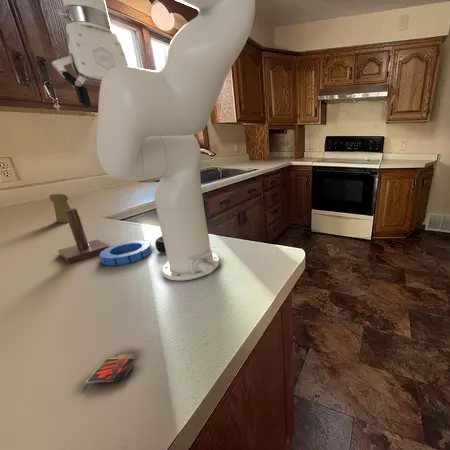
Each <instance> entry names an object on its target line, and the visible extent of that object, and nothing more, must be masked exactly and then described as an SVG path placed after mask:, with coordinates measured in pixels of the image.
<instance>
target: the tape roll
mask: <svg viewBox="0 0 450 450" xmlns="http://www.w3.org/2000/svg"><path fill="white" fill-rule="evenodd" d="M152 250H153V248H152V244H151V242H150V241H147V240H142V239H141V240H140V239H139V240H137V239H136V240H129V241H124V242H119V243H116V244H113V245H111V246H109V247H108V248H106V249H104V250H103V251H101V253H100V254H98V256H99V259H100V262H101V263H102V264H103V265H104V266H122V265H127V264H130V263H134V262H137V261H140V260H143V259H144V258H146V257H147V256H149V255H151V253H152ZM127 251H131V252H127ZM124 252H126V253H124Z"/></svg>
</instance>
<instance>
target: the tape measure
mask: <svg viewBox="0 0 450 450" xmlns="http://www.w3.org/2000/svg"><path fill="white" fill-rule="evenodd" d="M154 244H155V245H154V246H155V249H156V250H157V252H158V253H160V254H161V253H162V254H166V250H165V245H164V241H163V237H162V235H161V236H159V237H158V238H156V240H155V242H154Z"/></svg>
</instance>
